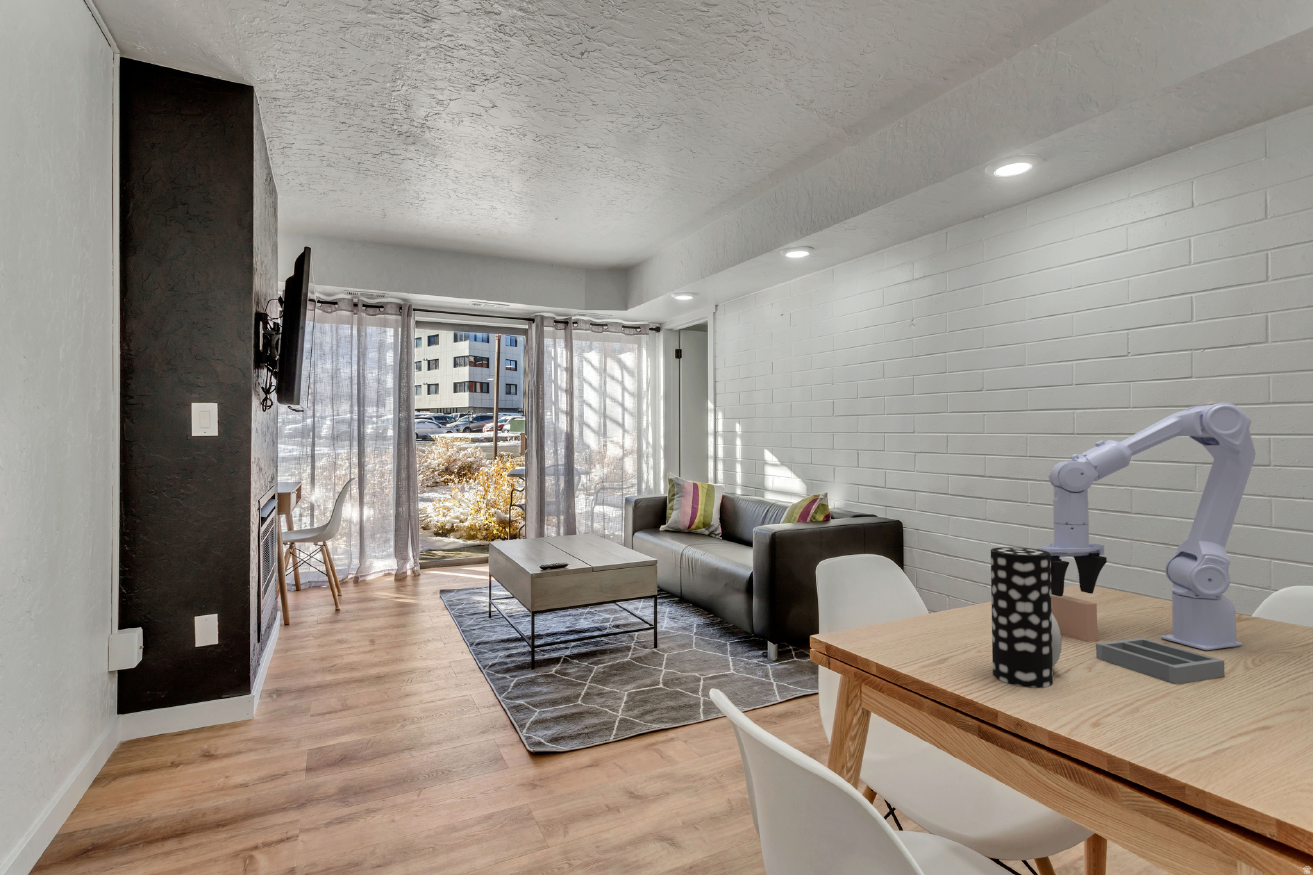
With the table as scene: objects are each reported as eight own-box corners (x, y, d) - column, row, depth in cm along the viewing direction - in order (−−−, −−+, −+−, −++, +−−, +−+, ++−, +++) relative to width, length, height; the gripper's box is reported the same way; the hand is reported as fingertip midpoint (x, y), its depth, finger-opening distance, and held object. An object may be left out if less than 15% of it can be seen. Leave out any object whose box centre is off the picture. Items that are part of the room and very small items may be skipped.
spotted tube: (980, 673, 105) (978, 549, 105) (1017, 666, 108) (1015, 545, 108) (1027, 691, 97) (1025, 557, 98) (1065, 682, 100) (1063, 553, 101)
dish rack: (1141, 651, 115) (1141, 637, 115) (1224, 676, 103) (1224, 660, 103) (1096, 657, 112) (1096, 643, 112) (1176, 684, 99) (1175, 667, 99)
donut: (1066, 678, 103) (1065, 614, 103) (1042, 676, 103) (1041, 613, 103) (1040, 657, 112) (1039, 599, 112) (1018, 656, 113) (1017, 599, 113)
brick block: (1059, 629, 129) (1059, 594, 130) (1097, 640, 122) (1096, 603, 122) (1049, 630, 129) (1049, 595, 129) (1087, 642, 121) (1086, 604, 121)
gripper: (1080, 519, 132) (1081, 586, 131) (1024, 522, 127) (1024, 592, 127) (1114, 523, 125) (1115, 594, 125) (1055, 526, 121) (1056, 600, 120)
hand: (1071, 593), depth 125 cm, fingers open, 7 cm apart
